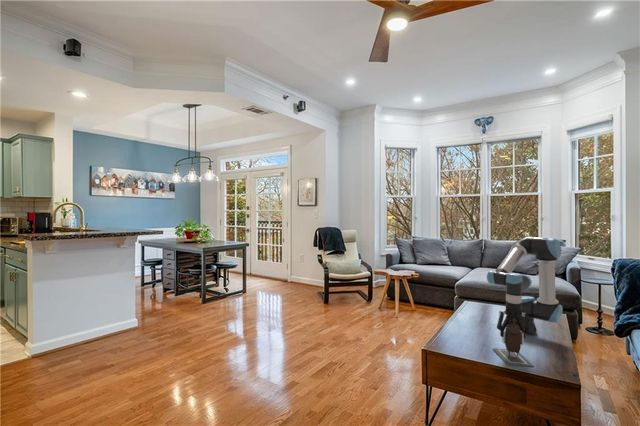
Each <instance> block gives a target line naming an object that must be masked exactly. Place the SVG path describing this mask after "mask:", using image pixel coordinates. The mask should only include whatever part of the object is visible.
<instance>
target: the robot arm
mask: <svg viewBox="0 0 640 426" xmlns="http://www.w3.org/2000/svg"><path fill="white" fill-rule="evenodd" d="M561 246H562V245H561V242H560V241H559V240H558V239H556V238H553V237H539V236H526V237H523V238H520V239H518V240H517V241H515V242H514V243H513V244H512V245H511V247H510V250H509V252H508V254H507V255H506V256H505V258H504V259H503V260H502V261H501V262H500V264H499V266H498V267H497V268H496V269H495V270H489V271H488V272H487V274H486V280H487V282H488V283H489V284H493V285H496V286H497V285H498V286H503V287H506V288H505V310H504V311H501V310H499V312H498V313H499V314H498V315H499V316H498V321H497V323H496V324H497V325H496V329H497V330H498V331H500V333H499V335H500V337H501V342H502V343H503V344H504V345H505V335H506V332H505V330H506V326H507V325H508V323H509V321H510V320H511V319H513V317H515V320H517V322H518V324H519V328H520V332H521V346H524V339H526V336H536V335H537V334H538V329H537V326H536V323H535V319H536V320H539V321H540V320H541V321H544V322H548V323H553V324H557V323H558V322H560V320H561V317H562V315H563V309H564V308H563V305H561V304H559V302H560V301H559V300H558V299H556V268H555V267H556V262H557V261H558V259H559V258H560V257H561V255H562V247H561ZM528 255H531V256H535V257H534V258H535V260H536V261H537V262H538V263H537V264H538V290H539V291H538V293H539V294H538V295H539V297H537V298H536V299H535V297H533V296H528V295H523V290H525V289H528V288H529V287H531V286H532V283H533V282H532V278H531V277H530V276H528V275H527V274H520V273H514V272H513V271H514V270H515V268H516V267H517V266H518V264H519V262H520V261H521V260H522V259H523V258H525V257H526V256H528ZM505 315H506V316H505ZM504 316H505V317H504ZM504 318H505V319H504Z"/></svg>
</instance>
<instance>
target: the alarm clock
mask: <svg viewBox="0 0 640 426" xmlns="http://www.w3.org/2000/svg"><path fill="white" fill-rule="evenodd" d="M504 331H505V332H506V335H505V344H504V345H505V347H506V348H505V349H507V351H508V352H509V355H510V352H514V353H517V356H518V353H520V352H521V351H520V350H521V348H522V347H521V346H522V345H521V332H520V328H519V324H518V322H517V320H515V317H513V319H511V320H510V321H509V323H508V325H507V326H506V328H505V330H504Z"/></svg>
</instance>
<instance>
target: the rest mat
mask: <svg viewBox="0 0 640 426" xmlns="http://www.w3.org/2000/svg"><path fill="white" fill-rule="evenodd" d="M492 351H493V352H494V353H495V354H496V355H498V357H499V358H500V359H501V360H502V361H503V363H505V365H507V366H514V367H528V368H534V367H535V366H534V364H532V362H530V360H528V359H527V358H526V357H525V356H524V355H523V354H522V353H521V352H519V353H518V356H517V353H514V352H510V355H509V352H508V351H507V349H506V348H492Z"/></svg>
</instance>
